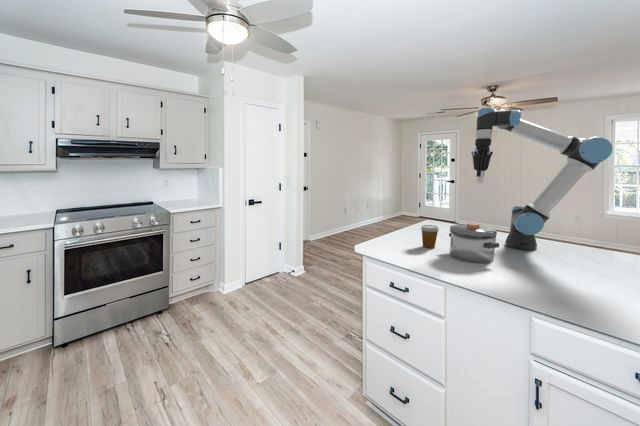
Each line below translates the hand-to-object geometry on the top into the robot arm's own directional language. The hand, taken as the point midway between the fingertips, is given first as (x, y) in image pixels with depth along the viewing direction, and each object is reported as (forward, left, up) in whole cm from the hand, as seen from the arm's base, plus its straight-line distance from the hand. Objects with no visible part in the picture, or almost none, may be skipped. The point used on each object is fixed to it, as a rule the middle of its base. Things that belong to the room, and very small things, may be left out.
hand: (479, 182), depth 164 cm
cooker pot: (+16, +13, -36) cm, 42 cm away
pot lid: (+16, +13, -24) cm, 32 cm away
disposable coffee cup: (+24, -9, -37) cm, 45 cm away
